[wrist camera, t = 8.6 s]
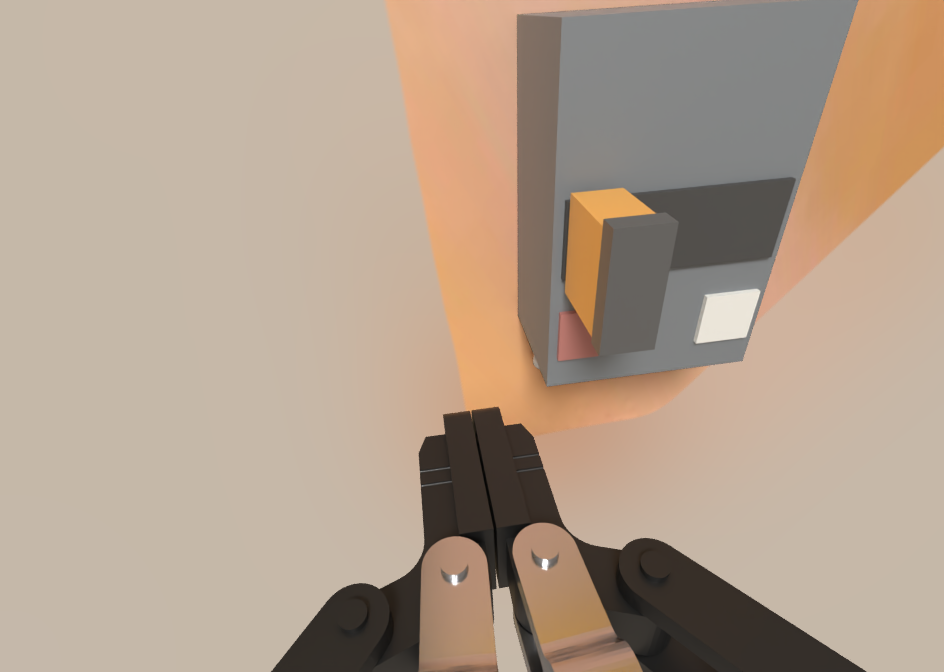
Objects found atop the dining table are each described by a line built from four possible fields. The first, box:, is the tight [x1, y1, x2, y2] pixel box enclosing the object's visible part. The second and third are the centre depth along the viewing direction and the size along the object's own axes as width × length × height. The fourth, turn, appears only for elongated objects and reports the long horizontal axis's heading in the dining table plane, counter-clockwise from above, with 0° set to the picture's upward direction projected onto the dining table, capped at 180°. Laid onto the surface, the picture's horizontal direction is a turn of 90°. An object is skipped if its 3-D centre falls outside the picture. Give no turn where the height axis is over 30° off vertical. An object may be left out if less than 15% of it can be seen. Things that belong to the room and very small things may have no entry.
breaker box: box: [517, 0, 858, 387], centre depth 27 cm, size 12×18×8 cm, turn 3°
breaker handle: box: [565, 188, 679, 357], centre depth 21 cm, size 2×6×5 cm, turn 3°
